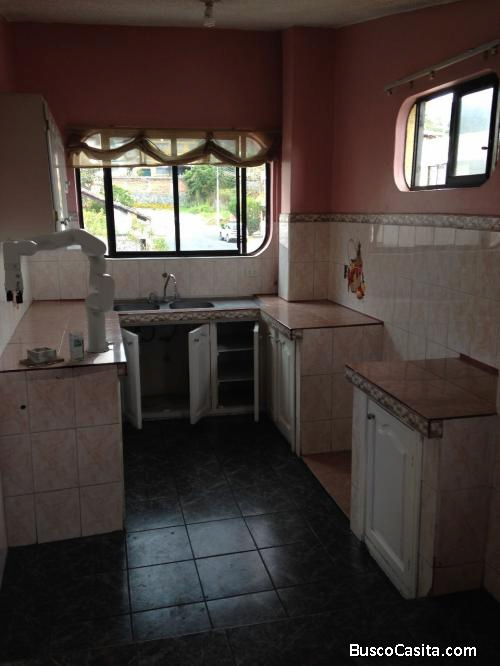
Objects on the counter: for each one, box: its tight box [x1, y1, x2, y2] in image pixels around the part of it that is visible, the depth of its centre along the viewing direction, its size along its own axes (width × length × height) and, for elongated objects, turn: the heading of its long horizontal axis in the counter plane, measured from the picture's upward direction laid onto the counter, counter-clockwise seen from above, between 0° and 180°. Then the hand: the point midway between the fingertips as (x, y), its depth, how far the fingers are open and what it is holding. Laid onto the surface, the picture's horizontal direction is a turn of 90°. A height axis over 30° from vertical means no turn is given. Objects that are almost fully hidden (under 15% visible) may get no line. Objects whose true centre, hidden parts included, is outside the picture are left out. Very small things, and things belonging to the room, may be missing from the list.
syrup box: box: [68, 331, 86, 362], centre depth 303 cm, size 6×6×14 cm
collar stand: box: [18, 345, 65, 367], centre depth 299 cm, size 18×12×6 cm, turn 135°
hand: (14, 302), depth 289 cm, fingers open, 9 cm apart
